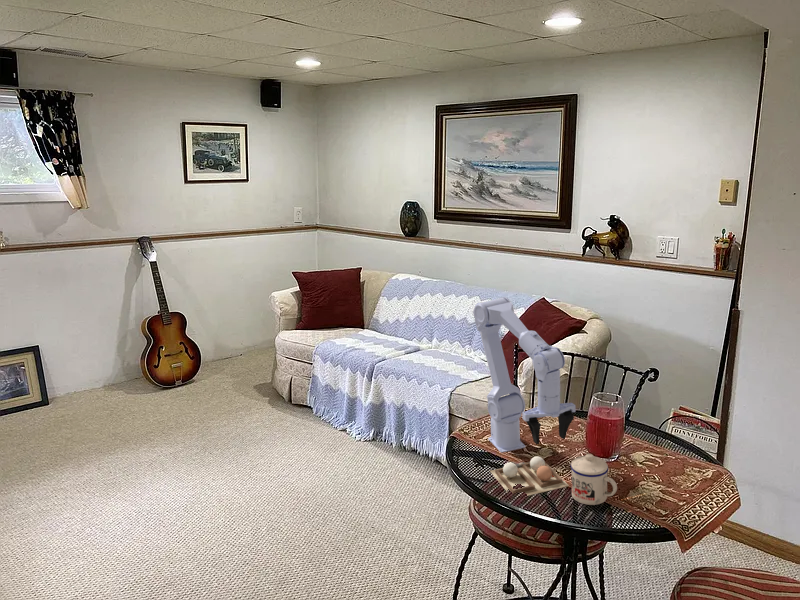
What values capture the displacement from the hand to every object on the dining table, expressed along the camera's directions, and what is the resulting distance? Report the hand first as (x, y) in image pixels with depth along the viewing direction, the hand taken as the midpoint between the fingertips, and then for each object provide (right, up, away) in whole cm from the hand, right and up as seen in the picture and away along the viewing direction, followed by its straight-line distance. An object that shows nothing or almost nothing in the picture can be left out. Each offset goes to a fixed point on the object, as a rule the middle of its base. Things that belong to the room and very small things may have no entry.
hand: (549, 439), depth 179 cm
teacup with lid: (+9, -13, -11) cm, 19 cm away
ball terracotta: (-1, -10, -2) cm, 10 cm away
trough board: (-6, -11, 0) cm, 12 cm away
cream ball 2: (-3, -9, +3) cm, 10 cm away
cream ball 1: (-10, -10, +1) cm, 14 cm away
